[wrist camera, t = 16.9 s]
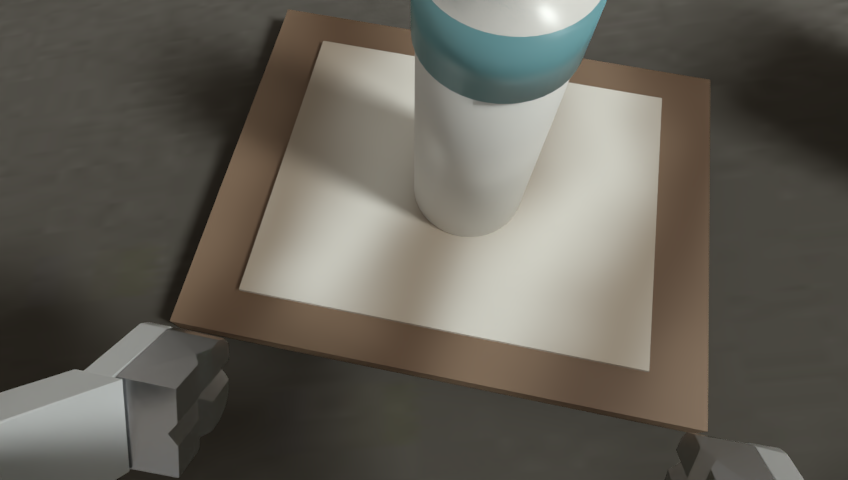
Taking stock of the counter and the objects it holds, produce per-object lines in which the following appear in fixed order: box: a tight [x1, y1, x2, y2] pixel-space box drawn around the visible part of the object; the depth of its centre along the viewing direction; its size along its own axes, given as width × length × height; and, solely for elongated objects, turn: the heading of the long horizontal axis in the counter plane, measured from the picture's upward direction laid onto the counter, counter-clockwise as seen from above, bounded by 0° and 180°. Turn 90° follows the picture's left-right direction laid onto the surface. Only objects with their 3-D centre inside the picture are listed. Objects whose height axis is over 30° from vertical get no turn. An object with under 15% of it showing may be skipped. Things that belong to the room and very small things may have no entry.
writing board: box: [170, 10, 710, 433], centre depth 21 cm, size 18×14×1 cm
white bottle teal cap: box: [411, 0, 607, 237], centre depth 16 cm, size 4×4×10 cm
